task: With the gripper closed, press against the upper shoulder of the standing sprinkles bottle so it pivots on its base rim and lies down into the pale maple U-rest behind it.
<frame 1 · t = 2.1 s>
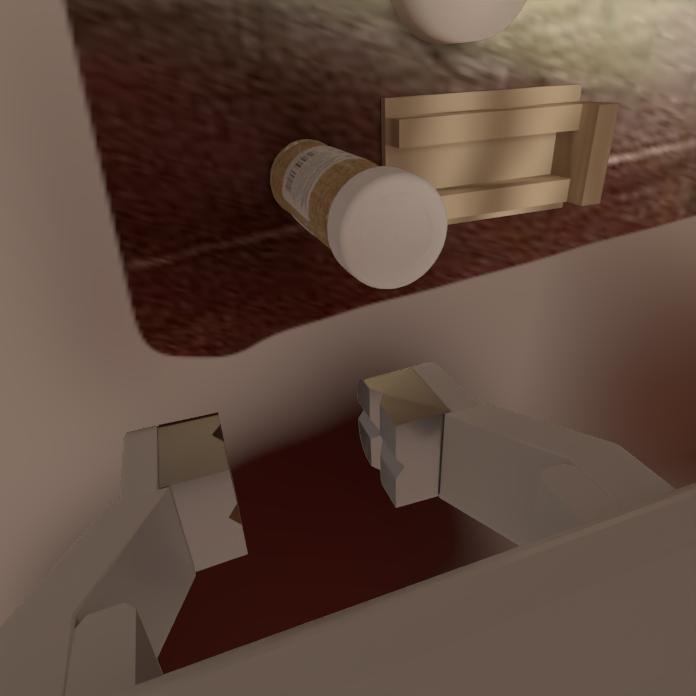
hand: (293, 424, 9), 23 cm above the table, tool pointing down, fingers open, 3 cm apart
sprinkles bottle: (304, 176, 30), on the table
u rest: (459, 160, 33), on the table
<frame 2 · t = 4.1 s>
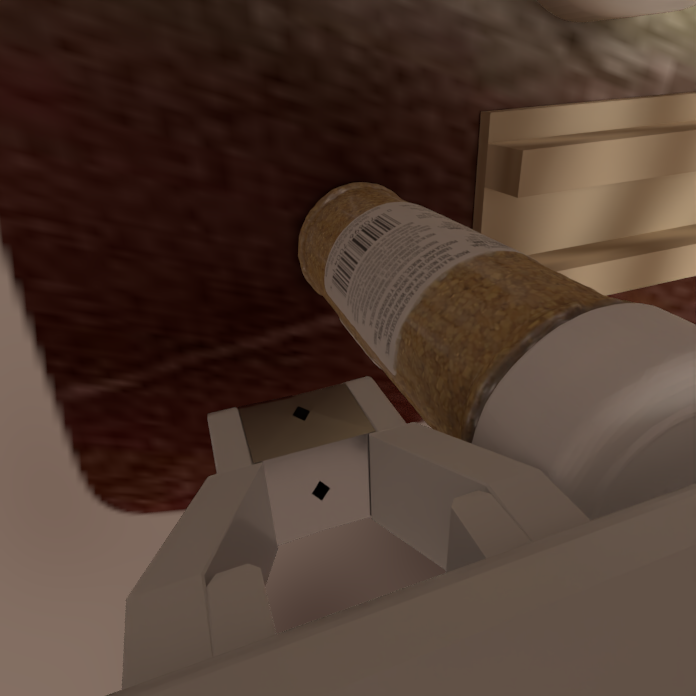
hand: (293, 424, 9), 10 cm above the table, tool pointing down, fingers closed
sprinkles bottle: (353, 240, 19), on the table, touching gripper
u rest: (586, 205, 21), on the table
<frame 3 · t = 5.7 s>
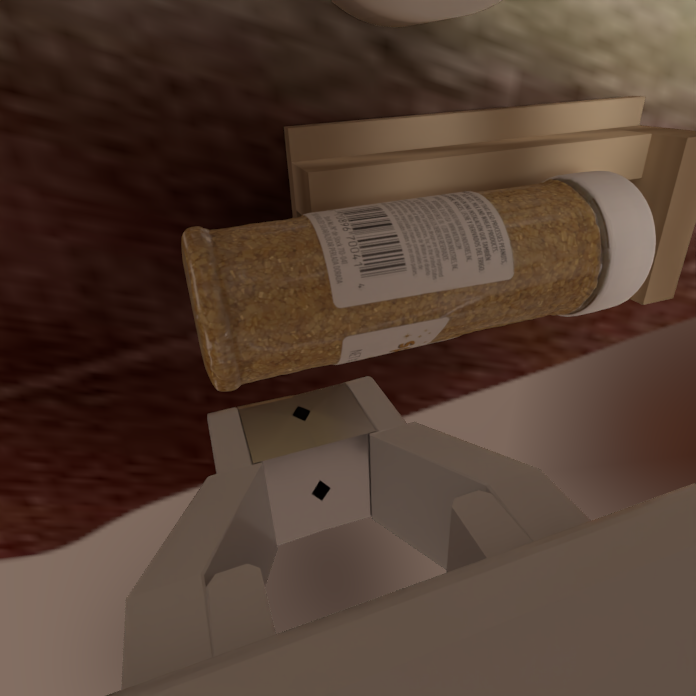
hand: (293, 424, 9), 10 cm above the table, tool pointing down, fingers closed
sprinkles bottle: (186, 313, 13), point 4 cm above the table, touching u rest
u rest: (434, 227, 19), on the table
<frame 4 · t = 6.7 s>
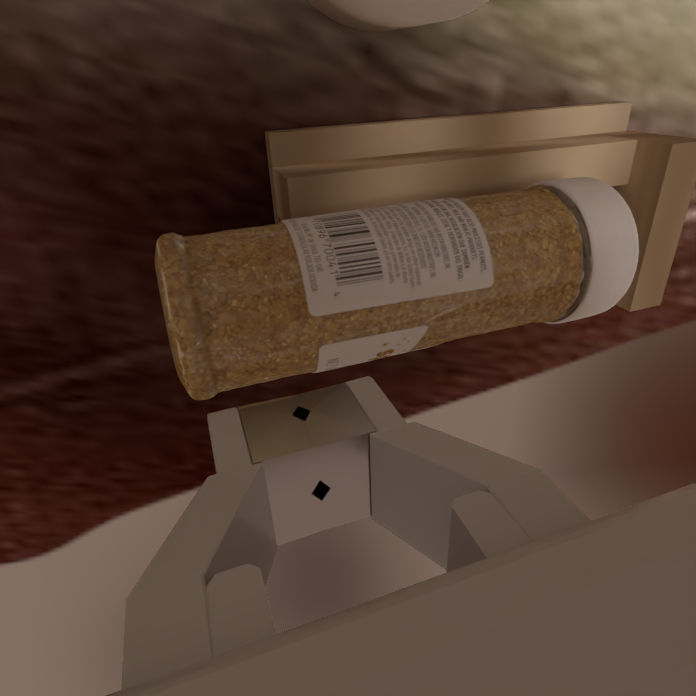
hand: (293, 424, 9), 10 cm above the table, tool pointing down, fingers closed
sprinkles bottle: (161, 320, 13), point 4 cm above the table, touching u rest
u rest: (419, 232, 19), on the table
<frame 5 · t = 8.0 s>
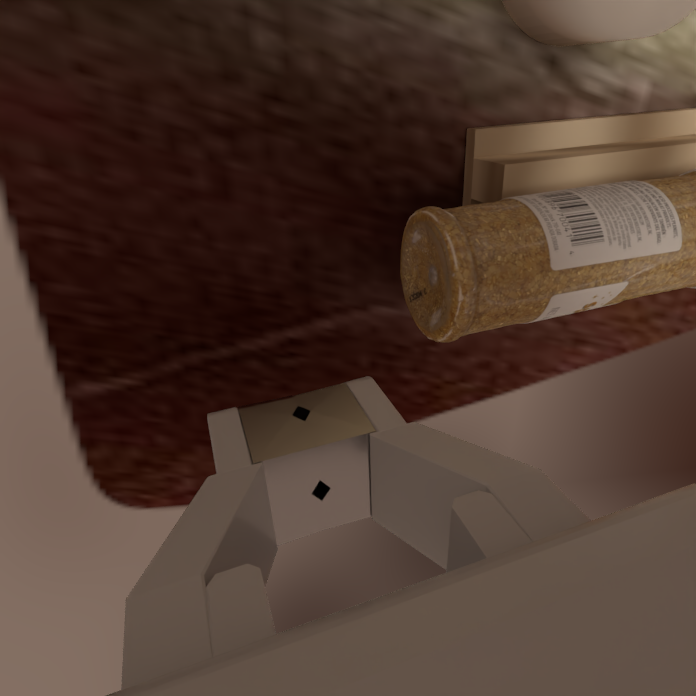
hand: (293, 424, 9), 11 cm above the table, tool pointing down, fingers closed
sprinkles bottle: (415, 277, 16), point 4 cm above the table, touching u rest
u rest: (569, 215, 22), on the table
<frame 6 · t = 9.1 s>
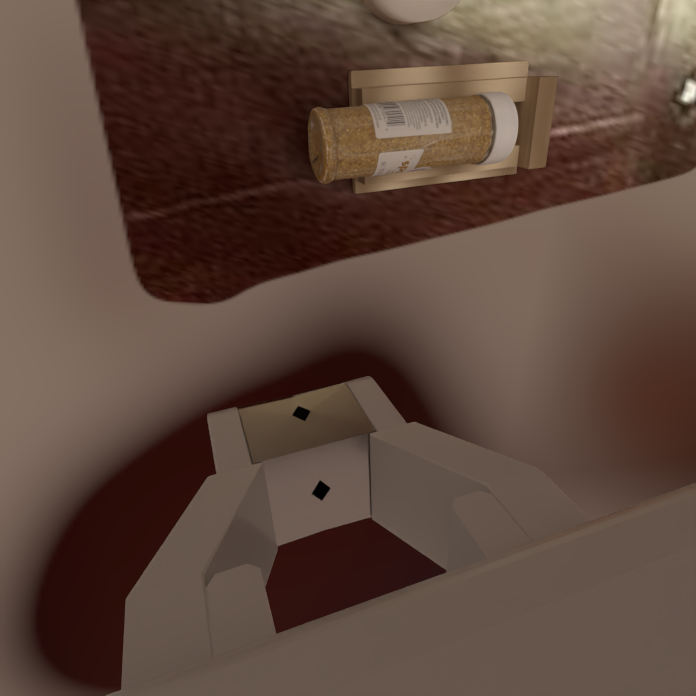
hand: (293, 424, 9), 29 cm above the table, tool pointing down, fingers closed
sprinkles bottle: (311, 146, 31), point 4 cm above the table, touching u rest
u rest: (420, 128, 37), on the table
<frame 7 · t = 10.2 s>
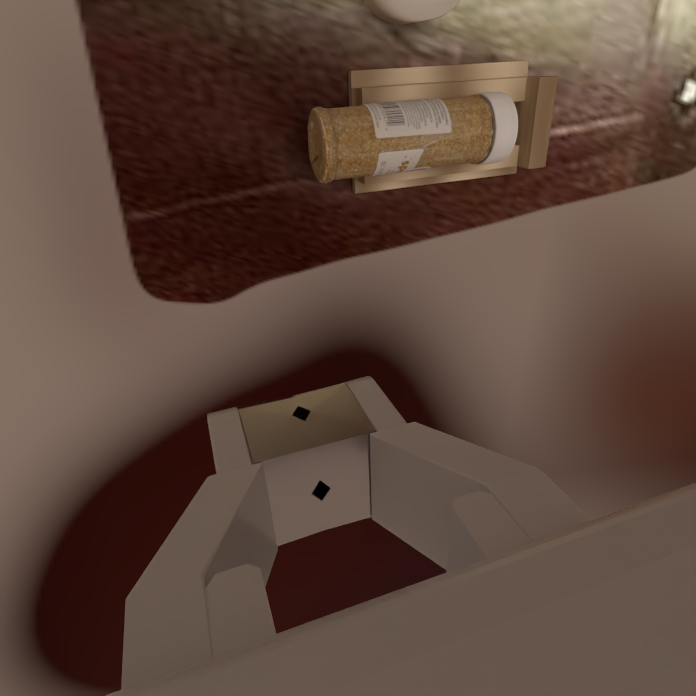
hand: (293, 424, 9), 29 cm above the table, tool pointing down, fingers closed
sprinkles bottle: (311, 146, 31), point 4 cm above the table, touching u rest
u rest: (420, 128, 37), on the table
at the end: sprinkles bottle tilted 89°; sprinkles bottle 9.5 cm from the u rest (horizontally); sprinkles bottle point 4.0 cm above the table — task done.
